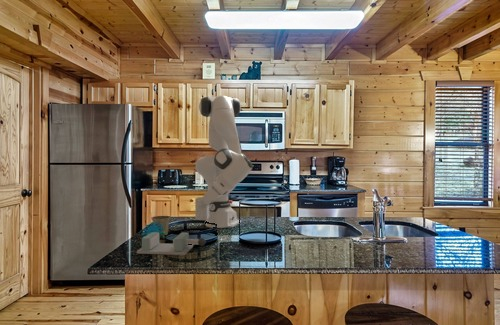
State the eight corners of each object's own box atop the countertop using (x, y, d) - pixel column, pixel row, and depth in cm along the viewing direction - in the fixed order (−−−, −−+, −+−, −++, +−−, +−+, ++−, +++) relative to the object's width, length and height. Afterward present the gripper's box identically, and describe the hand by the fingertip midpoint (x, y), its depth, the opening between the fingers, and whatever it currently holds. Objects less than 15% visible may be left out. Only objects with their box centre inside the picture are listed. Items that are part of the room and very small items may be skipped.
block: (209, 217, 145) (209, 197, 145) (206, 219, 140) (206, 198, 140) (198, 217, 146) (198, 197, 145) (195, 219, 141) (195, 198, 140)
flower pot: (150, 233, 164) (149, 216, 164) (168, 231, 168) (168, 214, 168) (152, 237, 156) (152, 219, 155) (172, 235, 160) (172, 218, 159)
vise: (193, 246, 141) (193, 232, 141) (184, 255, 129) (184, 240, 129) (149, 245, 143) (148, 231, 143) (136, 253, 131) (136, 238, 131)
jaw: (208, 244, 139) (208, 233, 139) (202, 251, 129) (202, 239, 129) (180, 243, 140) (180, 232, 140) (172, 250, 130) (172, 238, 130)
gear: (137, 237, 150) (147, 219, 156) (141, 243, 154) (150, 226, 161) (159, 242, 148) (168, 223, 154) (162, 248, 152) (171, 230, 158)
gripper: (222, 178, 152) (201, 198, 153) (212, 182, 132) (189, 205, 133) (231, 188, 152) (211, 208, 153) (223, 193, 131) (200, 216, 133)
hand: (201, 207), depth 143 cm, fingers closed on block, 5 cm apart
